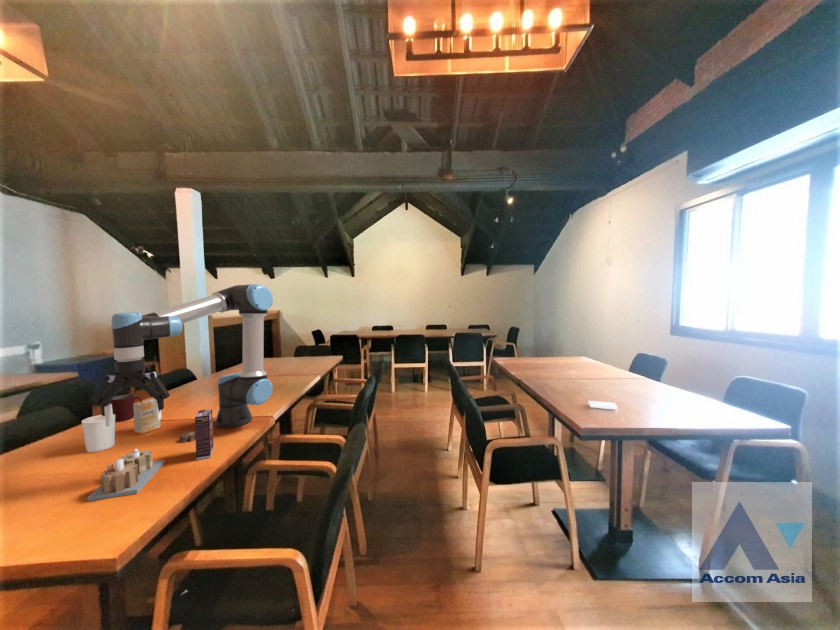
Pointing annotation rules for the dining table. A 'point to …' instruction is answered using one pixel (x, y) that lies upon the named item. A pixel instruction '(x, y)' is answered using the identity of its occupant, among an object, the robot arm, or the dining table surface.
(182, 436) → the gear
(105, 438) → the candle holder
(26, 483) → the dining table surface
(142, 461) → the maple gear
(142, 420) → the supplement box
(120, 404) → the mug
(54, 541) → the dining table surface
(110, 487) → the gear board
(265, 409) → the dining table surface
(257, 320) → the robot arm
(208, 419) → the supplement box
